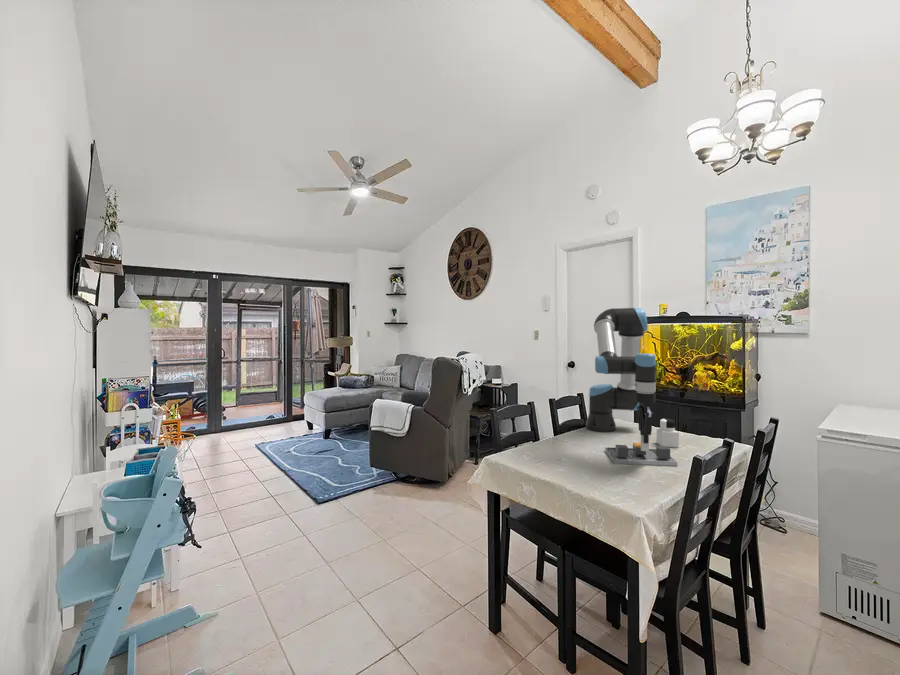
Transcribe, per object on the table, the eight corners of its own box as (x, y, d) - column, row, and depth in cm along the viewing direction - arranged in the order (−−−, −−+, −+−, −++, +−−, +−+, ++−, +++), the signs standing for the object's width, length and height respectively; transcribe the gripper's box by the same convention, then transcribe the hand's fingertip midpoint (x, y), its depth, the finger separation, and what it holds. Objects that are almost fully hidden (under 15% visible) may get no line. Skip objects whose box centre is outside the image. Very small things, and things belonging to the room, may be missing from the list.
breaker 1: (615, 454, 171) (615, 444, 170) (625, 454, 170) (625, 445, 170) (617, 457, 167) (617, 447, 166) (628, 457, 166) (628, 448, 166)
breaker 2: (656, 455, 168) (656, 446, 168) (666, 455, 167) (666, 446, 167) (659, 458, 164) (659, 449, 164) (670, 459, 164) (670, 449, 163)
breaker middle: (632, 451, 173) (632, 442, 173) (642, 452, 173) (642, 442, 172) (635, 454, 169) (635, 445, 169) (645, 455, 169) (645, 445, 169)
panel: (605, 451, 181) (605, 447, 181) (662, 453, 177) (662, 449, 177) (613, 463, 165) (614, 459, 165) (677, 466, 161) (677, 461, 161)
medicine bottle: (672, 442, 191) (672, 417, 191) (679, 447, 184) (679, 421, 184) (656, 442, 192) (656, 417, 191) (662, 447, 185) (662, 421, 184)
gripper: (630, 389, 170) (630, 445, 171) (640, 394, 157) (639, 455, 158) (649, 389, 169) (649, 446, 170) (660, 395, 156) (660, 456, 157)
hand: (644, 450), depth 164 cm, fingers closed
